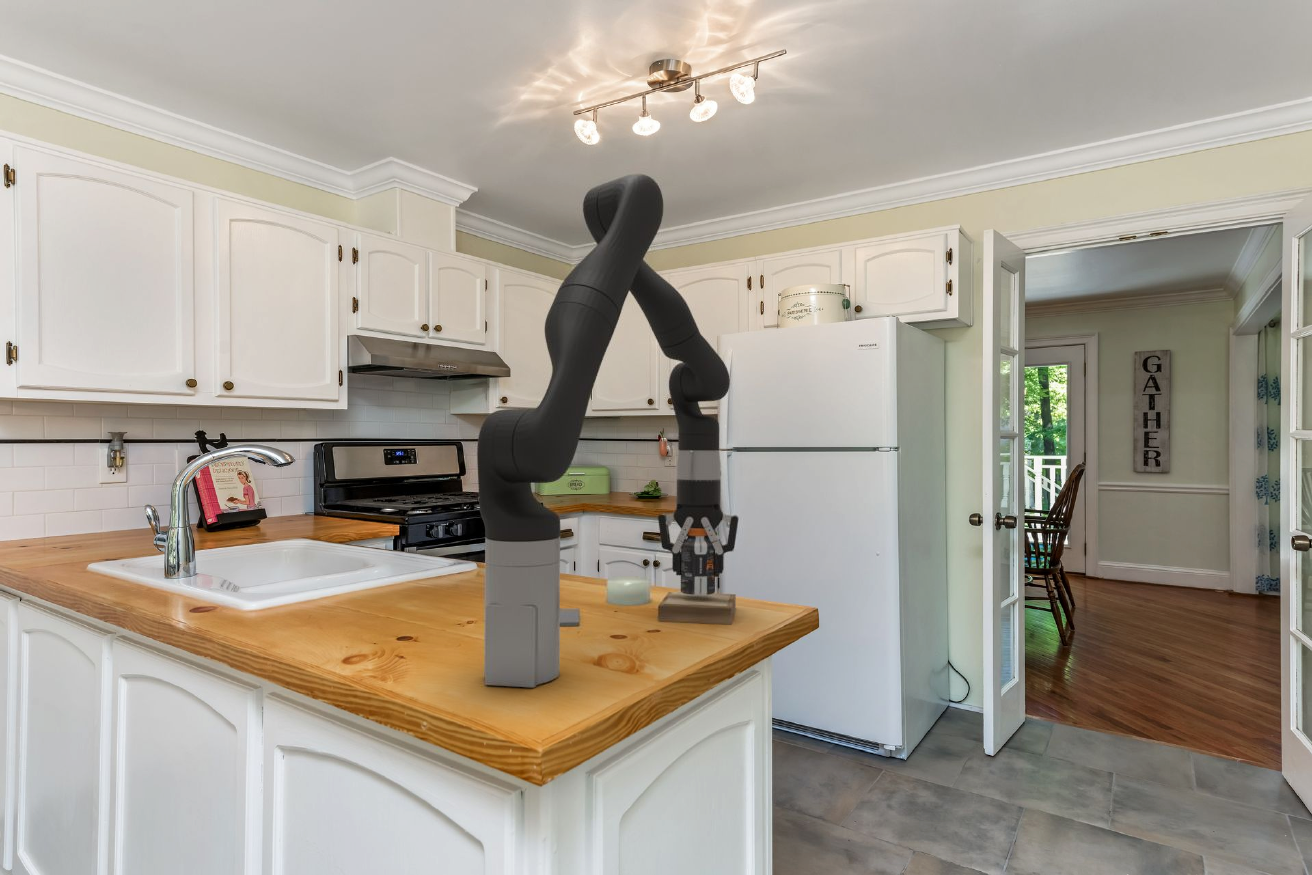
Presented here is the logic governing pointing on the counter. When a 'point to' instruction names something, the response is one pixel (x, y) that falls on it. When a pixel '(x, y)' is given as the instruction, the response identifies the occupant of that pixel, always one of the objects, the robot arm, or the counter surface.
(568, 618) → the coaster
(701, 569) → the pill bottle
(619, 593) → the pale green puck
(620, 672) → the counter surface
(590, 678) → the counter surface
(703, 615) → the riser
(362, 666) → the counter surface
